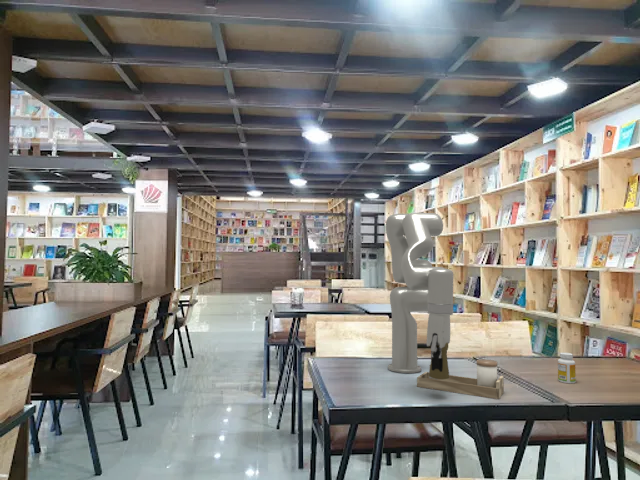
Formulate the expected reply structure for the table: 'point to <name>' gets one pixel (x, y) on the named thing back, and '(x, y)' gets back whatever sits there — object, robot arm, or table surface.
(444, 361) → the olive brown waisted cylinder
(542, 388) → the table surface
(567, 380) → the supplement bottle
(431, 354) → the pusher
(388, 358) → the table surface
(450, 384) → the wooden tray
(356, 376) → the table surface
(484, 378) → the jar
